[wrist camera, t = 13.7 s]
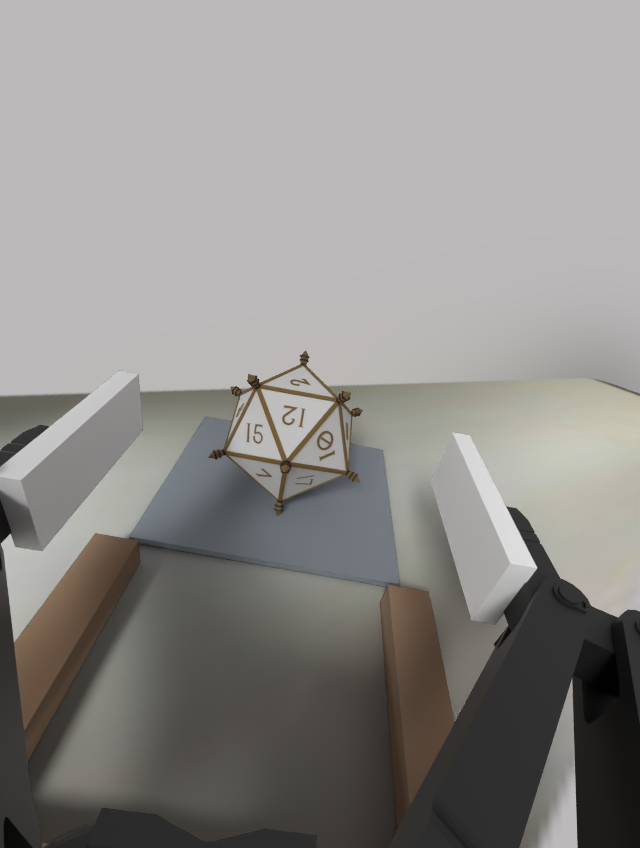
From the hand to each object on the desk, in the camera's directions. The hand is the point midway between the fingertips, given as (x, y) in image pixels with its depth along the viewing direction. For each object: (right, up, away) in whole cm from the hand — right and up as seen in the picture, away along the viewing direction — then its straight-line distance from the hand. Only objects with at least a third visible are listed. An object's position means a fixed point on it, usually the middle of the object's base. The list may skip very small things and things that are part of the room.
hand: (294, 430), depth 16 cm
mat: (-1, -4, +9) cm, 10 cm away
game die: (-1, -4, +9) cm, 9 cm away
